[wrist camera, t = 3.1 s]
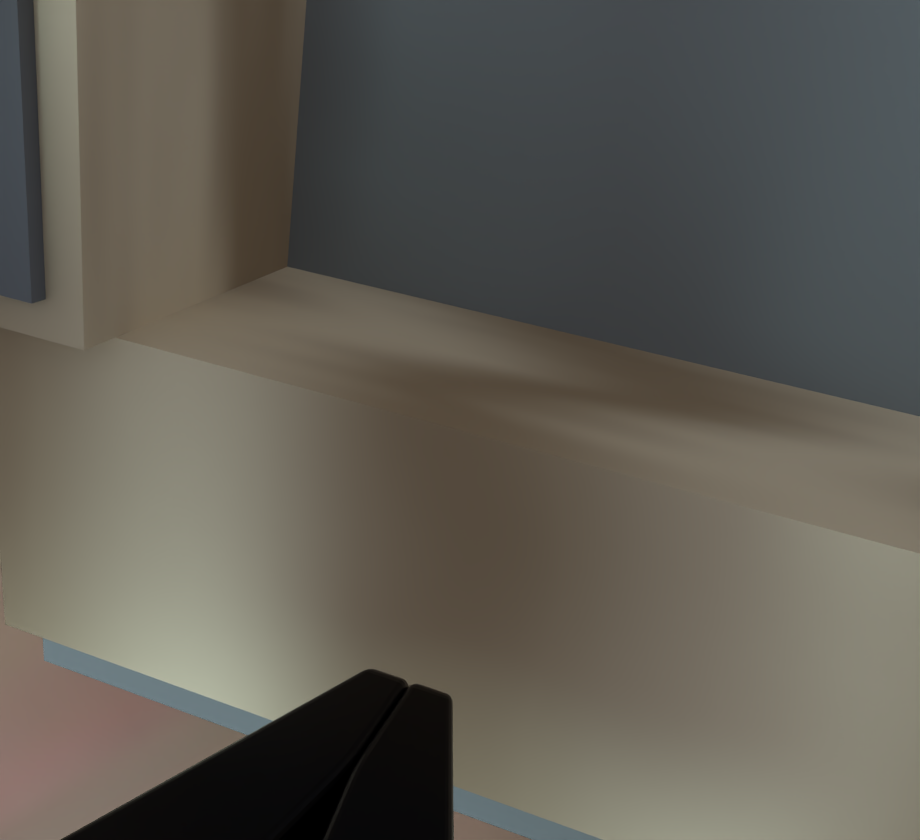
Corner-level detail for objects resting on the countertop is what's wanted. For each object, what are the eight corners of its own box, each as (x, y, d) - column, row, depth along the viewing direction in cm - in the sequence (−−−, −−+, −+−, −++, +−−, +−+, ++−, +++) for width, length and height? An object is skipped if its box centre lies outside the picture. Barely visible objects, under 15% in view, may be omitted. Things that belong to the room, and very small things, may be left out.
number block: (311, -74, 11) (46, -163, 7) (287, 266, 13) (65, 358, 9) (18, -116, 12) (-371, -218, 8) (33, 206, 14) (-277, 264, 10)
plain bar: (1031, 442, 11) (1166, 620, 7) (904, 720, 13) (962, 969, 9) (184, 242, 14) (-19, 302, 10) (178, 497, 15) (5, 624, 12)
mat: (1423, 62, 9) (1451, 60, 9) (926, 963, 15) (931, 985, 14) (24, -133, 13) (3, -139, 12) (57, 648, 18) (44, 660, 18)
